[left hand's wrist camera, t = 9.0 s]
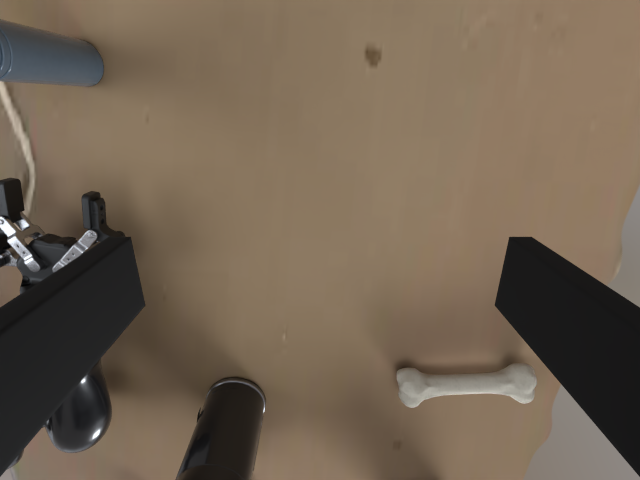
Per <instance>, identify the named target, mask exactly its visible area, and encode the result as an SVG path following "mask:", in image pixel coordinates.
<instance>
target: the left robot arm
mask: <svg viewBox="0 0 640 480" xmlns="http://www.w3.org/2000/svg"><path fill="white" fill-rule="evenodd" d="M144 306H145V302H144V297H143V292H142V288H141V283H140V279H139V274H138V269H137V265H136V260H135V255H134V251H133V246H132V241H131V237H108V238H106V239H105V240H103V241H102V242H100V243H98V244H97V245H95V246H94V247H92V248H91V249H89V250H88V251H86V252H85V253H83V254H82V255H80V256H79V257H77V258H76V259H74V260H72V261H71V262H69V263H68V264H66V265H65V266H63V267H62V268H60V269H59V270H57V271H56V272H54V273H53V274H51V275H49V276H48V277H46V278H45V279H43V280H42V281H40V282H39V283H37V284H36V285H34V286H33V287H31V288H30V289H28V290H26V291H25V292H23V293H22V294H20V295H19V296H17V297H16V298H14V299H13V300H11V301H10V302H8V303H7V304H5V305H4V306H2V307H0V476H1V475H2V474H3V473H4V472H5V471H6V469H7V468H8V467H9V466H10V465H11V463H12V462H13V461H14V460H15V459H16V458H17V456H18V455H19V454H20V453H21V452H22V450H23V449H24V448H25V447H26V446H27V445H28V443H29V442H30V441H31V440H32V439H33V437H34V436H35V435H36V434H37V433H38V432H39V430H40V429H41V428H42V427H43V426H44V424H45V423H46V422H47V421H48V420H49V419H50V417H51V416H52V415H53V414H54V413H55V411H56V410H57V409H58V408H59V407H60V406H61V404H62V403H63V402H64V401H65V400H66V398H67V397H68V396H69V395H70V394H71V393H72V391H73V390H74V389H75V388H76V387H77V385H78V384H79V383H80V382H81V381H82V380H83V378H84V377H85V376H86V375H87V374H88V372H89V371H90V370H91V369H92V368H93V367H94V365H95V364H96V363H97V362H98V361H99V359H100V358H101V357H102V356H103V355H104V354H105V352H106V351H107V350H108V349H109V348H110V346H111V345H112V344H113V343H114V342H115V341H116V339H117V338H118V337H119V336H120V335H121V333H122V332H123V331H124V330H125V329H126V328H127V326H128V325H129V324H130V323H131V322H132V320H133V319H134V318H135V317H136V316H137V315H138V313H139V312H140V311H141V310H142V309H143V307H144ZM495 306H496V307H497V309H498V310H499V311H500V312H501V313H502V315H503V316H504V317H505V318H506V319H507V320H508V322H509V323H510V324H511V325H512V326H513V328H514V329H515V330H516V331H517V332H518V333H519V335H520V336H521V337H522V338H523V339H524V341H525V342H526V343H527V344H528V345H529V346H530V348H531V349H532V350H533V351H534V352H535V354H536V355H537V356H538V357H539V358H540V359H541V361H542V362H543V363H544V364H545V365H546V367H547V368H548V369H549V370H550V371H551V372H552V374H553V375H554V376H555V377H556V378H557V380H558V381H559V382H560V383H561V384H562V385H563V387H564V388H565V389H566V390H567V391H568V393H569V394H570V395H571V396H572V397H573V398H574V400H575V401H576V402H577V403H578V404H579V406H580V407H581V408H582V409H583V410H584V411H585V413H586V414H587V415H588V416H589V417H590V419H591V420H592V421H593V422H594V423H595V424H596V426H597V427H598V428H599V429H600V430H601V432H602V433H603V434H604V435H605V436H606V437H607V439H608V440H609V441H610V442H611V443H612V444H613V446H614V447H615V448H616V449H617V450H618V452H619V453H620V454H621V455H622V456H623V457H624V459H625V460H626V461H627V462H628V463H629V465H630V466H631V467H632V468H633V469H634V470H635V472H636V473H637V474H638V475H639V476H640V308H639V307H638V306H636V305H635V304H633V303H632V302H630V301H629V300H627V299H626V298H624V297H623V296H621V295H620V294H618V293H617V292H615V291H613V290H612V289H610V288H609V287H607V286H606V285H604V284H603V283H601V282H600V281H598V280H597V279H595V278H594V277H592V276H591V275H589V274H587V273H586V272H584V271H583V270H581V269H580V268H578V267H577V266H575V265H574V264H572V263H571V262H569V261H568V260H566V259H564V258H563V257H561V256H560V255H558V254H557V253H555V252H554V251H552V250H551V249H549V248H548V247H546V246H545V245H543V244H542V243H540V242H538V241H537V240H535V239H534V238H532V237H509V241H508V246H507V251H506V255H505V260H504V265H503V269H502V274H501V278H500V283H499V288H498V292H497V297H496V302H495Z"/></svg>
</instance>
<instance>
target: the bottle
mask: <svg viewBox="0 0 640 480" xmlns="http://www.w3.org/2000/svg"><path fill="white" fill-rule="evenodd" d="M103 71H104V67H103V61H102V58H101V56H100V54H99V53H98V51H97V50H96V49H95V48H94V47H93V46H92V45H91V44H90V43H88V42H86V41H84V40H80V39H76V38H73V37H69V36H65V35H61V34H57V33H53V32H49V31H45V30H41V29H37V28H33V27H29V26H26V25H22V24H18V23H14V22H10V21H6V20H2V19H0V82H15V83H32V84H49V85H66V86H83V87H89V86H93V85H95V84H97V83H98V82H99V81H100V80H101V78H102V75H103Z"/></svg>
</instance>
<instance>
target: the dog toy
mask: <svg viewBox="0 0 640 480" xmlns="http://www.w3.org/2000/svg"><path fill="white" fill-rule="evenodd" d="M397 382H398V384H399V394H398V395H399V398H400V399H401V401H402V402H403V403H404V404H405V405H406V406H408V407H412V408H413V407H417V406H418V405H419V404H420V403H421V402H422V401H423V400H425V399H429V398H432V397H436V396H442V395H455V394H480V393H493V394H502V395H507V396H511V397H512V398H513V399H515V400H517V401H518V402H520V403H529V402H531V401H532V400H533V399H534V392H535V391H534V388H535V386H536V384H537V380H536V376H535V372H534V369H533V368H532V367H531V366H530V365H529V364H526V363H513V364H510V365H509V366H507V367H506V368H504V369H501V370H499V371H496V372H489V373H469V374H444V375H431V374H425V373H422V372H420V371H419V370H417V369H415V368H402V369H399V370H398V371H397Z"/></svg>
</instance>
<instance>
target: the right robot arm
mask: <svg viewBox="0 0 640 480" xmlns="http://www.w3.org/2000/svg"><path fill="white" fill-rule="evenodd" d="M82 210H83V223H84V228H87V229H88V231H87V232H86V233H85V234H84V235H83V236H82V237H81V239H80V240H79V241H77V240H76V238H73V237H59V236H57V235H53V234H45V233H44V232H43V231H42V229H41V228H40V227H39V226H37V225H33V224H32V223H31V222H30V221H29V220H28V218H27V217H26V216H25V215H24V214H23V213H22V212H21V211H24V203H23V196H22V189H21V182H20V180H19V179H15V178H7V179H3V180H0V267H2V266H5V265H6V266H16V267H18V269H19V270H20V272H21V273H22V276H23V279H22V283H21V287H20V294H22V293H23V292H25V291H26V290H28V289H30V288H31V287H33V286H34V285H36V284H37V283H39V282H40V281H42V280H43V279H45V278H46V277H48V276H49V275H51V274H53V273H54V272H56V271H57V270H59V269H60V268H62V267H63V266H65V265H66V264H68V263H69V262H71V261H72V260H74V259H76V258H77V257H79V256H80V255H82V254H83V253H85V252H86V251H88V250H89V249H91V248H92V247H94V246H95V245H97V244H98V243H99V242H102V241H103V240H105V239H106V238H108V237H125V234H124V233H123V232H121V231H114V230H112V229H110V228H109V227H108V225H107V224H106V212H105V211H106V210H105V201H104V199H103V198H101V197H100V193H99V192H94V191H91V192H88V193H86V194H84V195H83V196H82ZM14 222H15V223H16V224H17V225H18V226H19V228H20V229H21V230H22V231H20V230H19V229H18V228H17V227H16V226H15V225H14V224H13V223H14ZM27 237H32V238H33V239H34V240H32V241H31V242H30V243H29V245H27V243H26V242H25V241H24V238H27ZM265 404H266V400H265V396H264V394H263V392H262V390H261V389H260V388H259V387H258V386H257V385H255V384H254V383H252V382H250V381H248V380H245V379H241V378H226V379H223V380H220V381H218V382H216V383H215V384H214V385H213V386H212V387H211V388H210V389H209V391H208V394H207V397H206V401H205V404H204V406H203V409H202V411H201V414H200V410H199V413H198V418H197V424H196V427H195V430H194V432H193V435H192V438H191V440H190V443H189V445H188V448H187V451H186V453H185V456H184V459H183V461H182V464H181V467H180V469H179V472H178V474H177V477H176V480H251V478H252V472H253V470H254V465H255V460H256V454H257V449H258V443H259V437H260V432H261V426H262V420H263V412H264V410H265ZM200 409H201V407H200ZM111 417H112V406H111V401H110V397H109V393H108V389H107V385H106V382H105V379H104V376H103V372H102V368H101V358H100V359H99V361H98V362H97V363H96V364H95V365H94V367H93V368H92V369H91V370H90V371H89V372H88V374H87V375H86V376H85V377H84V378H83V380H82V381H81V382H80V383H79V384H78V385H77V387H76V388H75V389H74V390H73V391H72V393H71V394H70V395H69V396H68V397H67V398H66V400H65V401H64V402H63V403H62V404H61V406H60V407H59V408H58V409H57V410H56V411H55V413H54V414H53V415H52V416H51V417H50V419H49V420H48V421H47V422H46V423H45V424H44V426H43V427H45V429H46V431H47V433H48V435H49V437H50V439H51V442H52V443H53V445H54V446H55V447H56V448H57V449H59V450H60V451H63V452H67V453H77V452H81V451H84V450H87V449H89V448H90V447H92V446H93V445H95V444H96V443H97V442H98V441H99V440H100V439H101V438H102V437H103V436H104V434H105V433H106V431H107V429H108V427H109V425H110V422H111ZM43 427H42V428H43ZM23 452H24V449H23V450H22V452H21V453H20V454H19V455H18V456H17V458H16V459H15V460H14V461H13V462H12V463H11V465H10V466H9V467H8V468H7V469H9V468H11V467H12V466H14V465H15V464H17V463H18V462H19V460H20V459H21V457H22V455H23ZM7 469H6V470H7Z"/></svg>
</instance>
